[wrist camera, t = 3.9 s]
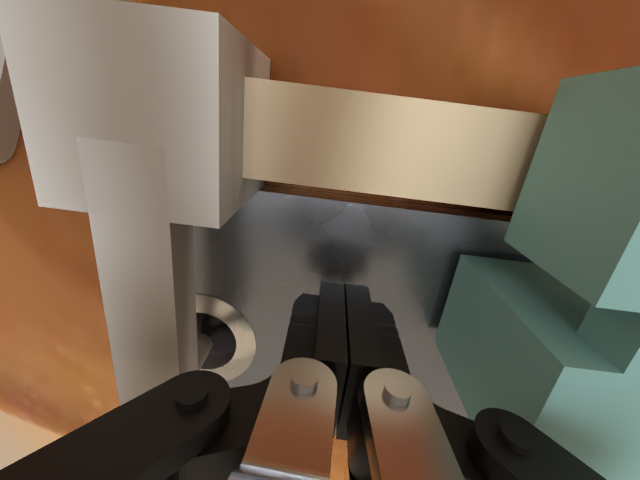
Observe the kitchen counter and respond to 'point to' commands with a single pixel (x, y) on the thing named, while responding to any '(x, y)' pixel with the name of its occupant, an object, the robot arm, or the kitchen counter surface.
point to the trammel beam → (213, 151)
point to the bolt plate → (334, 274)
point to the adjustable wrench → (7, 112)
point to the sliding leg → (564, 285)
